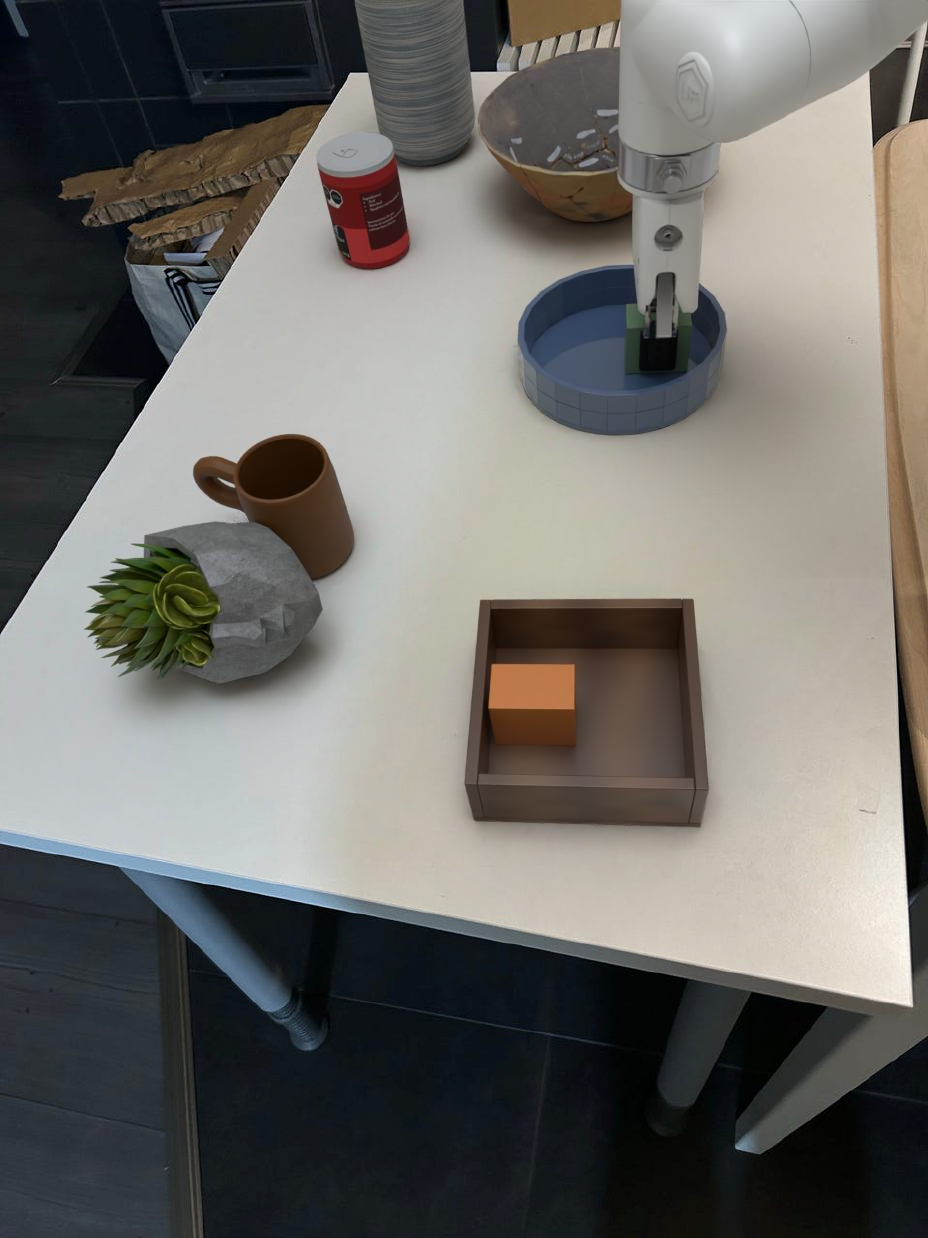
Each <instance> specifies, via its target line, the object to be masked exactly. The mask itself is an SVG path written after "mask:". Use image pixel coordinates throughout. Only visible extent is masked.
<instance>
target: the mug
mask: <svg viewBox="0 0 928 1238" xmlns="http://www.w3.org/2000/svg"><path fill="white" fill-rule="evenodd" d="M192 477H193V479H194V482H195V484H196V486H197V487H198V489H199V490H200V491H201V492H202V493H203V494H204V495H205V496H207V497H208V498H209V499H211V500H212V501H213V502H215V503H217V504H219V505H221V506H224V507H226V508H230V509H232V510H233V509H234V510H238V511H239V512H242V513H243V514H244V515H245V516H246V519H247V522H256V523H258V524H260V525H263V526H265V527H268V528H269V529H270V530H271V531H273V532H274V533H275V534H276V535H277V536H278V537H279V538H280V539H281V540H283V541H284V542H285V543H286V544H287V545H288V546H289V547H290V548H291V549H292V550H293V551H294V553H295V555H296V556H297V558H298V559H299V561H300V562H301V564H302V566H303V567H304V569H305V570H306V572H307V573H308V575H309V577H310V578H311V580H313V579H317V578H320V577H324V576H326V575H329V574H330V573H332V572H333V571H335V570H337V569H338V568H340V566H341V565H342V564H343V563H344V562H345V561H346V560H347V559H348V557H349V555H350V554H351V551H352V549H353V547H354V540H355V533H354V528H353V524H352V520H351V517H350V514H349V510H348V508H347V503H346V501H345V498H344V494H343V492H342V488H341V486H340V482H339V479H338V476H337V472H336V469H335V466H334V465H333V463H332V460H331V459H330V455H329V453H328V451H327V450H326V448H325V447H324V445H322V444H321V443H320V442H319V441H318V440H317V439H315V438H313V437H310V436H308V435H305V434H300V433H284V434H278V435H273V436H271V437H267V438H265V439H263V440H260V441H259V442H257V443H255V444H253V445H252V446H251V447H249V448H248V449H247V450H246V451H245V452H244V453H243V454H242V455H241V456H240V458H239V459H238V461H237V462H235V461H232V460H229V459H227V458H225V457H222V456H218V455H209V456H204V457H201V458H199V459H198V460H197V461H196V462H195V464H194V465H193V469H192ZM221 480H223V481H221ZM225 482H227V483H229V484H232V485H234V486H230V485H229V484H226V483H225Z"/></svg>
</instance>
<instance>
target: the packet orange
mask: <svg viewBox="0 0 928 1238" xmlns="http://www.w3.org/2000/svg"><path fill="white" fill-rule="evenodd" d="M489 714H490V719H491V724H492V730H493V735H494V740H495V744H502V745H563V746H575V745H576V684H575V665H574V664H492V666H491V680H490V694H489Z"/></svg>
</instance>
